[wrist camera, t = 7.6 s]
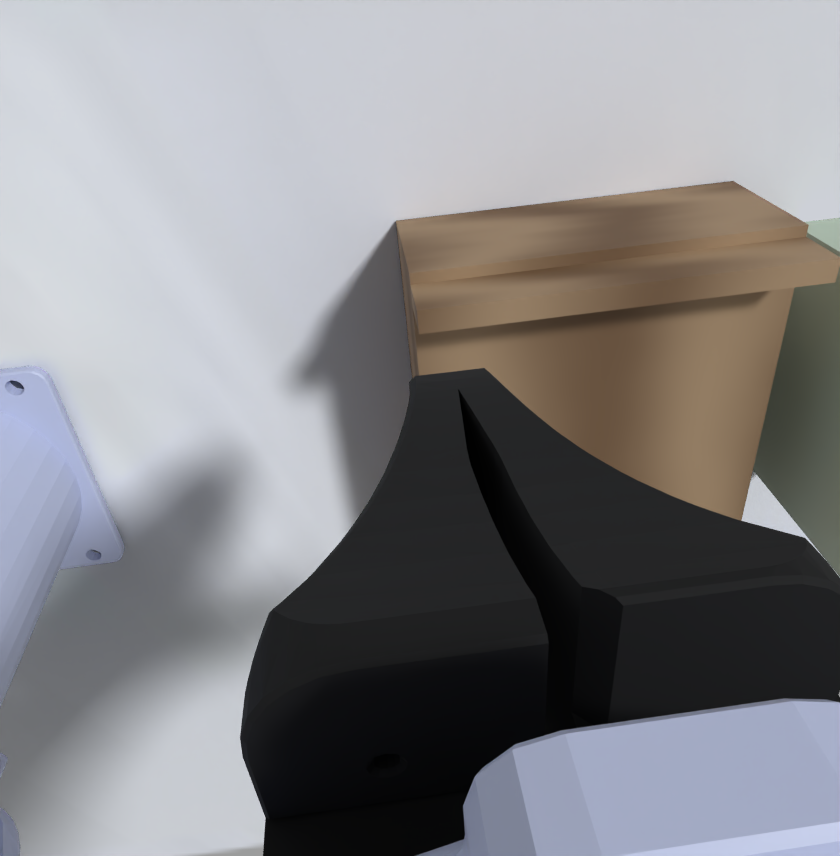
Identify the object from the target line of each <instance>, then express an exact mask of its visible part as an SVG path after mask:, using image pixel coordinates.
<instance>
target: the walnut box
mask: <svg viewBox="0 0 840 856" xmlns="http://www.w3.org/2000/svg"><path fill="white" fill-rule="evenodd" d="M396 226H397V236H398V246H399V255H400V265H401V275H402V284H403V294H404V304H405V313H406V323H407V333H408V343H409V352H410V362H411V372H412V379H413V378H414V377H415V376H420V375H428V374H437V373H445V372H454V371H462V370H471V369H479V368H485V369H486V370H487V371H489V372H490V373H491V374H492V375H493V376H494V377H495V378H496V379H497V380H498V381H499V382H500V383H501V384H502V385H504V386H505V387H506V388H507V389H508V390H509V391H510V392H511V393H512V394H513V395H514V396H515V397H516V398H518V399H519V400H520V401H521V402H522V403H523V404H524V405H525V406H527V407H528V408H529V409H530V410H531V411H532V412H534V413H535V414H536V415H537V416H538V417H540V418H541V419H542V420H543V421H545V422H546V423H547V424H548V425H549V426H551V427H552V428H553V429H554V430H556V431H557V432H559V433H560V434H561V435H563V436H564V437H566V438H567V439H568V440H570V441H571V442H573V443H574V444H576V445H577V446H578V447H580V448H581V449H583V450H585V451H586V452H588V453H589V454H591V455H592V456H594V457H596V458H598V459H599V460H601V461H603V462H605V463H606V464H608V465H610V466H612V467H613V468H615V469H617V470H619V471H620V472H622V473H624V474H626V475H628V476H630V477H632V478H634V479H636V480H638V481H640V482H642V483H644V484H647V485H649V486H651V487H653V488H655V489H658V490H660V491H662V492H664V493H666V494H669V495H671V496H673V497H676V498H678V499H681V500H683V501H686V502H688V503H691V504H693V505H696V506H699V507H702V508H705V509H707V510H710V511H713V512H716V513H719V514H722V515H725V516H728V517H731V518H734V519H737V520H740V521H741V519H742V515H743V511H744V506H745V502H746V498H747V493H748V489H749V484H750V480H751V476H752V471H753V467H754V463H755V458H756V454H757V449H758V445H759V441H760V436H761V432H762V428H763V423H764V419H765V414H766V410H767V406H768V401H769V397H770V393H771V388H772V384H773V379H774V375H775V371H776V366H777V362H778V358H779V353H780V349H781V344H782V340H783V336H784V331H785V327H786V323H787V318H788V314H789V309H790V305H791V301H792V296H793V292H794V288H795V287H803V286H811V285H819V284H827V283H835V282H836V278H837V274H838V271H839V267H840V257H839V256H837V255H835V254H834V253H832V252H830V251H829V250H827V249H826V248H824V247H822V246H821V245H819V244H817V243H816V242H814V241H812V240H811V239H809V238H807V237H806V235H807V231H808V226H809V225H808V224H806V223H805V222H803V221H801V220H799V219H798V218H796V217H794V216H792V215H791V214H789V213H787V212H786V211H784V210H782V209H780V208H779V207H777V206H775V205H774V204H772V203H770V202H768V201H767V200H765V199H763V198H761V197H760V196H758V195H756V194H755V193H753V192H751V191H749V190H748V189H746V188H744V187H742V186H741V185H739V184H737V183H736V182H734V181H730V182H722V183H713V184H705V185H696V186H688V187H679V188H671V189H662V190H654V191H645V192H637V193H628V194H620V195H611V196H603V197H594V198H586V199H577V200H569V201H560V202H552V203H543V204H535V205H527V206H518V207H510V208H501V209H493V210H484V211H476V212H467V213H459V214H450V215H442V216H433V217H425V218H416V219H408V220H399V221H396Z"/></svg>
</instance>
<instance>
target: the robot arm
mask: <svg viewBox="0 0 840 856" xmlns="http://www.w3.org/2000/svg"><path fill="white" fill-rule="evenodd" d="M11 380H13V381H17V382H19V383H21V384H22V385H23V387H24V389H19V388H16V387H14V386H13V385H12V384H11V383H10V381H11ZM409 386H410V398H409V404H408V409H407V413H406V417H405V421H404V424H403V427H402V430H401V433H400V437H399V440H398V442H397V445H396V447H395V450H394V452H393V454H392V457H391V459H390V461H389V464H388V466H387V469H386V471H385V473H384V475H383V477H382V479H381V481H380V483H379V484H378V486H377V488H376V490H375V492H374V493H373V495H372V497H371V499H370V500H369V502H368V504H367V505H366V507H365V508H364V510H363V511H362V513H361V514H360V516H359V517H358V519H357V520H356V522H355V523H354V525H353V526H352V527H351V529H350V530H349V532H348V533H347V534H346V536H345V537H344V538H343V539H342V541H341V542H340V543H339V544H338V545H337V547H336V548H335V549H334V550H333V551H332V552H331V553H330V555H329V556H328V557H327V558H326V559H325V560H324V561H323V563H322V564H321V565H320V566H319V567H318V568H317V569H316V571H315V572H314V573H313V574H312V575H311V576H310V577H309V578H308V579H307V580H306V581H305V582H304V583H302V584H301V585H300V586H299V587H298V588H297V589H296V590H295V591H293V592H292V593H291V594H290V595H289V596H288V597H287V598H286V599H285V600H283V601H282V602H281V603H280V604H279V605H277V606H276V607H275V608H274V609H273V610H272V611H271V612H270V613H269V615H268V618H267V620H266V623H265V626H264V628H263V631H262V634H261V637H260V639H259V642H258V645H257V649H256V652H255V655H254V658H253V662H252V666H251V670H250V674H249V678H248V682H247V687H246V691H245V699H244V708H243V717H242V726H241V735H240V740H241V747H242V754H243V759H244V761H245V764H246V767H247V769H248V772H249V775H250V777H251V780H252V783H253V785H254V788H255V791H256V793H257V796H258V799H259V801H260V804H261V807H262V809H263V812H264V815H265V817H266V822H265V836H264V851H263V856H840V697H839V695H838V694H839V692H840V578H839V576H838V575H837V574H836V572H835V571H834V570H833V569H832V567H831V566H830V565H829V563H828V562H827V561H826V560H825V559H824V558H823V557H822V556H821V555H820V553H819V552H818V551H817V550H816V549H815V548H814V547H813V546H812V545H811V544H810V543H809V542H808V541H807V540H806V538H803V537H799V536H796V535H792V534H788V533H785V532H781V531H777V530H773V529H770V528H766V527H762V526H759V525H755V524H751V523H747V522H744V521H740V520H737V519H734V518H731V517H728V516H725V515H722V514H719V513H716V512H713V511H710V510H707V509H705V508H702V507H699V506H696V505H693V504H691V503H688V502H686V501H683V500H681V499H678V498H676V497H673V496H671V495H669V494H666V493H664V492H662V491H660V490H658V489H655V488H653V487H651V486H649V485H647V484H644V483H642V482H640V481H638V480H636V479H634V478H632V477H630V476H628V475H626V474H624V473H622V472H620V471H619V470H617V469H615V468H613V467H612V466H610V465H608V464H606V463H605V462H603V461H601V460H599V459H598V458H596V457H594V456H592V455H591V454H589V453H588V452H586V451H585V450H583V449H581V448H580V447H578V446H577V445H576V444H574V443H573V442H571V441H570V440H568V439H567V438H566V437H564V436H563V435H561V434H560V433H559V432H557V431H556V430H554V429H553V428H552V427H551V426H549V425H548V424H547V423H546V422H545V421H543V420H542V419H541V418H540V417H538V416H537V415H536V414H535V413H534V412H532V411H531V410H530V409H529V408H528V407H527V406H525V405H524V404H523V403H522V402H521V401H520V400H519V399H518V398H516V397H515V396H514V395H513V394H512V393H511V392H510V391H509V390H508V389H507V388H506V387H505V386H504V385H502V384H501V383H500V382H499V381H498V380H497V379H496V378H495V377H494V376H493V375H492V374H491V373H490V372H489V371H487V370H486V369H485V368H479V369H471V370H462V371H454V372H445V373H437V374H428V375H420V376H415V377H414V378H413V379H412V380H411V381H410V382H409ZM124 549H125V547H124V543H123V541H122V539H121V536H120V534H119V532H118V529H117V527H116V525H115V522H114V520H113V518H112V515H111V513H110V511H109V509H108V506H107V504H106V502H105V499H104V497H103V495H102V492H101V490H100V488H99V486H98V483H97V481H96V479H95V476H94V474H93V472H92V469H91V467H90V465H89V462H88V460H87V458H86V456H85V453H84V451H83V449H82V446H81V444H80V442H79V439H78V437H77V435H76V432H75V430H74V428H73V426H72V423H71V421H70V419H69V416H68V414H67V412H66V409H65V407H64V405H63V403H62V400H61V398H60V396H59V393H58V391H57V389H56V386H55V384H54V382H53V379H52V377H51V376H50V375H49V373H48V372H47V371H45V370H44V369H42V368H40V367H37V366H24V367H16V368H8V369H0V707H1V705H2V702H3V700H4V698H5V695H6V693H7V691H8V688H9V686H10V684H11V681H12V679H13V677H14V674H15V672H16V669H17V667H18V665H19V662H20V660H21V658H22V655H23V653H24V651H25V648H26V646H27V644H28V641H29V639H30V637H31V634H32V632H33V630H34V627H35V625H36V623H37V620H38V618H39V616H40V613H41V611H42V609H43V606H44V604H45V601H46V599H47V597H48V594H49V592H50V590H51V587H52V585H53V583H54V580H55V578H56V576H57V573H58V571H59V570H60V569H67V568H75V567H82V566H89V565H97V564H104V563H111V562H115V561H118V560H119V559H121V557H122V555H123V552H124ZM91 550H96V551H99V552H100V553H95V552H92V551H91ZM7 760H8V758H7V757H6V756H5V755H4V754H3V753H1V752H0V778H1V776H2V773H3V771H4V768H5V765H6V763H7ZM0 856H20V841H19V834H18V830H17V828H16V825H15V823H14V820H13V819H12V818H11V817H10V816H9V814H8V813H7V812H6V811H5V810H4V809H2V808H1V807H0Z"/></svg>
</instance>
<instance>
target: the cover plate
mask: <svg viewBox="0 0 840 856" xmlns="http://www.w3.org/2000/svg"><path fill="white" fill-rule="evenodd" d="M805 223H806V224H808V225H809V226H808V231H807V235H806V237H807V238H809V239H811V240H812V241H814V242H816V243H817V244H819V245H821V246H822V247H824V248H826V249H827V250H829V251H830V252H832V253H834V254H835V255H837V256H839V257H840V218H834V219H826V220H818V221H809V222H805ZM753 470H754V472H755V473H756V474H757V475H758V477H759V478H760V479H761V480H762V481H763V483H764V484H765V485H766V486H767V488H768V489H769V490H770V491H771V493H772V494H773V495H774V496H775V498H776V499H777V500H778V501H779V502H780V504H781V505H782V506H783V507H784V509H785V510H786V511H787V512H788V514H789V515H790V516H791V517H792V519H793V520H794V521H795V522H796V523H797V525H798V526H799V527H800V528H801V530H802V531H803V532H804V533H805V535H806V536H807V537H808V538H809V540H810V541H811V542H812V543H813V544H814V546H815V547H816V548H817V549H818V551H819V552H820V553H821V554H822V556H823V557H824V558H825V559H826V560H827V562H828V563H829V564H830V565H831V567H832V568H833V569H834V570H835V572H836V573H837V574H838V575H839V577H840V267H839V271H838V274H837V278H836V282H835V283H827V284H819V285H811V286H803V287H795V288H794V292H793V296H792V301H791V305H790V309H789V314H788V318H787V323H786V327H785V331H784V336H783V340H782V344H781V349H780V353H779V358H778V362H777V366H776V371H775V375H774V379H773V384H772V388H771V393H770V397H769V401H768V406H767V410H766V414H765V419H764V423H763V428H762V432H761V436H760V441H759V445H758V449H757V454H756V458H755V463H754V467H753Z"/></svg>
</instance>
